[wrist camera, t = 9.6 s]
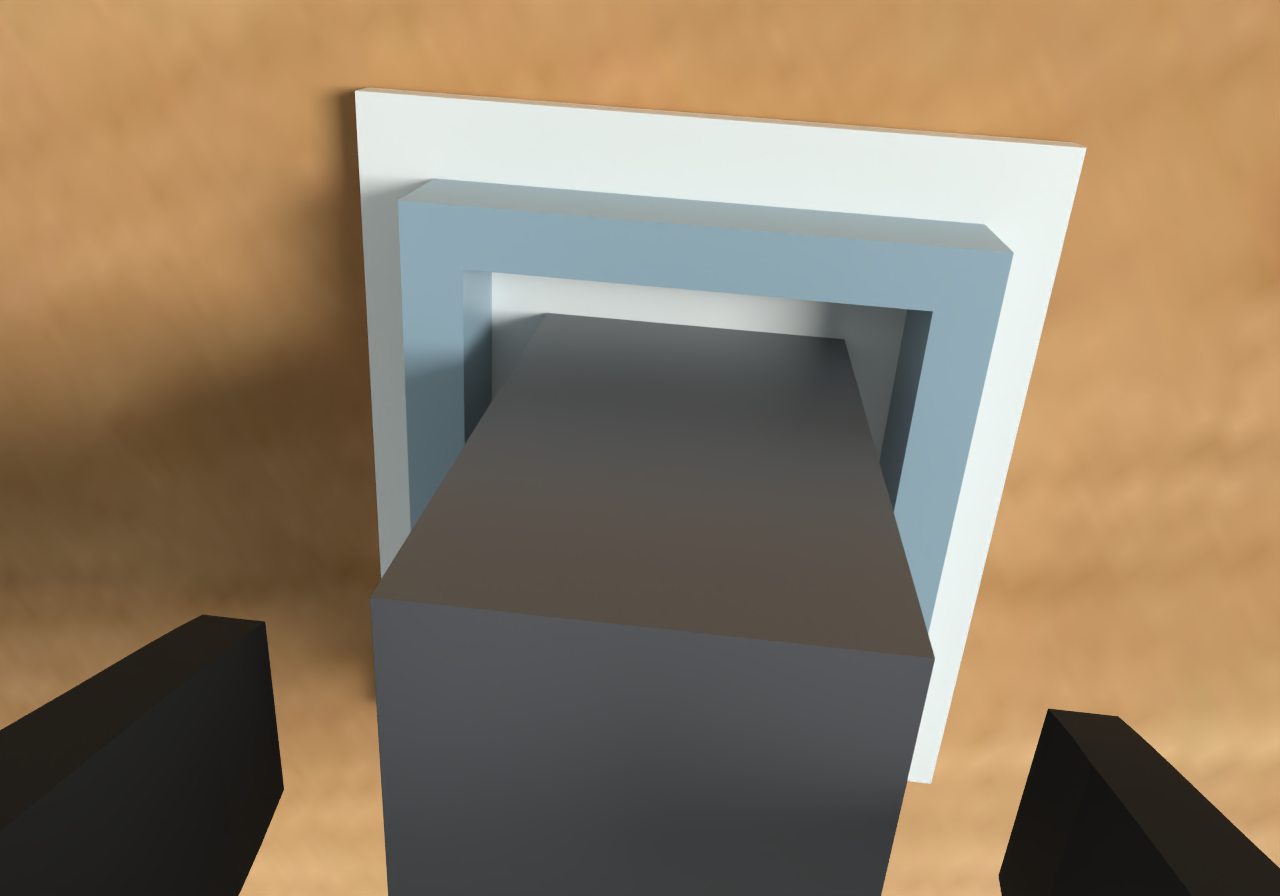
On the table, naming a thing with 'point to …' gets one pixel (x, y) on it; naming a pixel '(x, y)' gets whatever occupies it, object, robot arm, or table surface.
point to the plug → (652, 630)
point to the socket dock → (719, 286)
